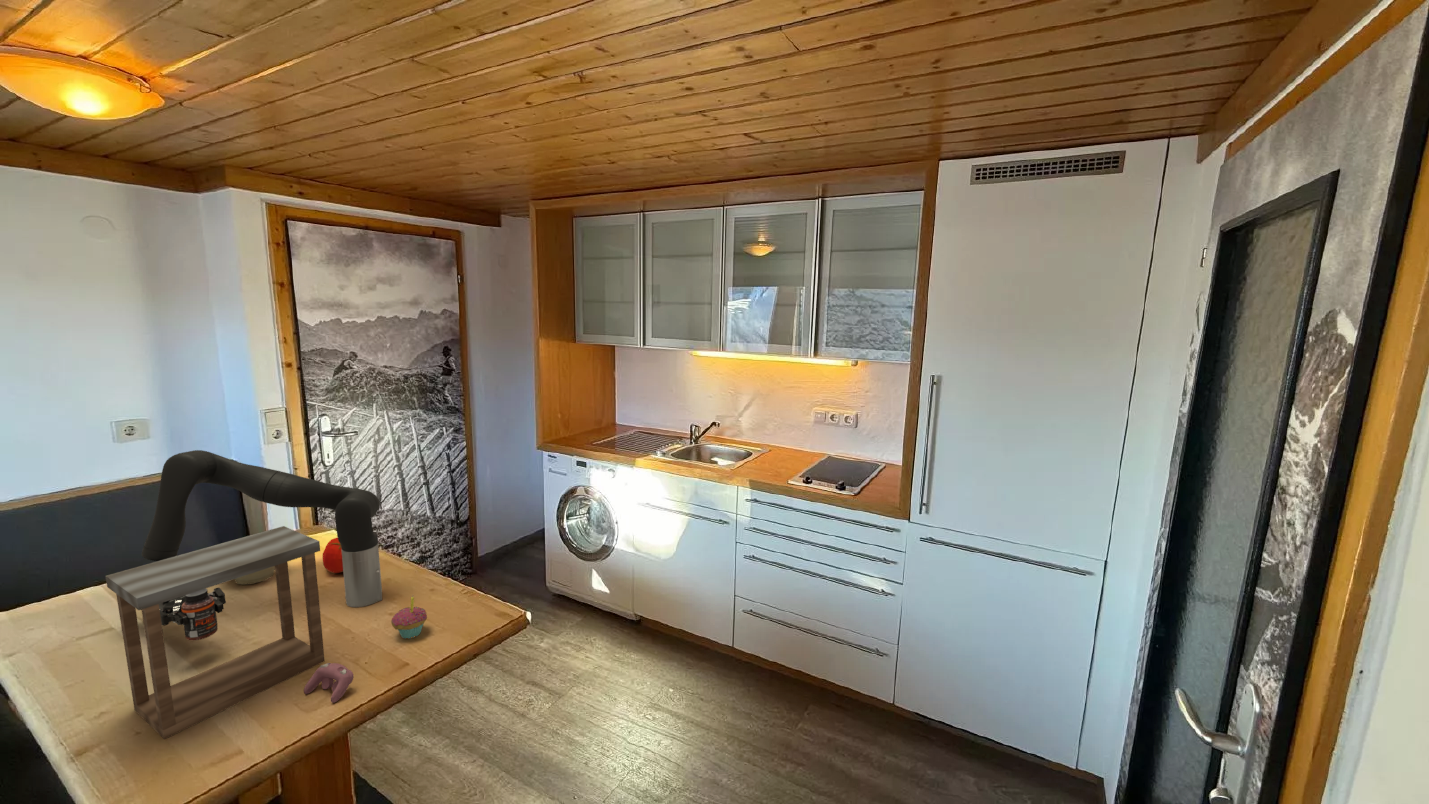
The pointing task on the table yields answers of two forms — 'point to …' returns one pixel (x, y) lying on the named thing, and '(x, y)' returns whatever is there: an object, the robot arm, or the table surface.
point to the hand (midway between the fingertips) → (203, 614)
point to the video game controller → (331, 680)
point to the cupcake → (409, 620)
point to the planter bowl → (256, 576)
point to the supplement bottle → (199, 615)
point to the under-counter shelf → (240, 675)
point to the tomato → (333, 556)
